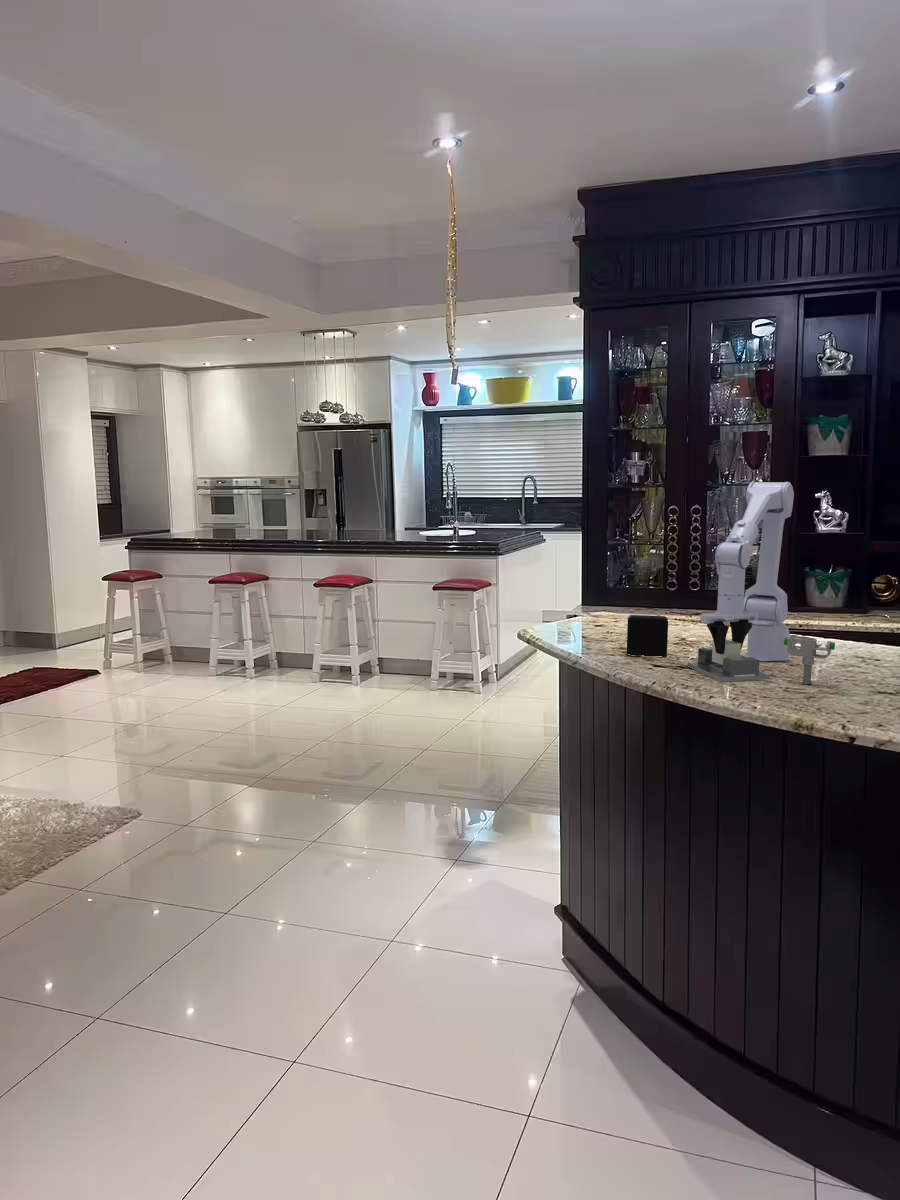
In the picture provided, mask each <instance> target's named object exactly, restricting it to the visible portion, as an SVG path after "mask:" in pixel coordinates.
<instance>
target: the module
mask: <svg viewBox="0 0 900 1200" xmlns="http://www.w3.org/2000/svg"><path fill="white" fill-rule="evenodd" d="M712 648H713V649H712V662H715V663H718V664H721V665H723V658H730V657H738V658H741V656H740V654H742V653H741V652H742V651H741V650H742V648H741V643H737V642H734V641H732V639H731V640H730V639H726V640H725V650H724V654H718V653H716V650H715V645H714V641H713V640H712Z"/></svg>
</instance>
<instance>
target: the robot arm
mask: <svg viewBox="0 0 900 1200" xmlns="http://www.w3.org/2000/svg"><path fill="white" fill-rule="evenodd" d="M746 488H747V489H746V491H745V492H746V493H745V498H746V503H747V507H746V509H745V512H744V514H743V517H742V519H739V520H737V521H735V523H734V525H733V527H732V528H731V531H730V533H729V535H728V536H727V537H726V540H725V541H723V542H722V543H719V544H718V545H717V547H716V550H715V555H714V559H715V564H716V574H717V575H718V586H717V609H716V611H715V612H711V613H702V614H700V624H704V625H706V626H707V629H708V631H709V632H710V635H711V638H712V642H713V641H714V645H715V650H716V653H718V654H724V650H725V640H727V634H728V631H729V629H730V631H731V641H734V642H737V643H741V649H742V647H743V646H744V643H745V640H746V637H747V646H746V649H747V650H746V653H740V657H752V658H755V659H758V660H760V662H778V661H779V662H781V661H782V662H783V661H791V658H789V655H790V654H789V653H788V651H787V649H788V646H787V645H784V638H788V637H791V636H790V635H791V634H790V630H789V628H788V626H787V625H786V624H785V623H784V622H785V621H786V619H787V617H788V612H789V611H788V608H789V607H788V594H787V592H785V591H784V589H783V588H781V587H780V586H778V579H779V578H778V577H779V567H780V562H781V561H780V560H781V550H782V544H783V543H782V541H783V531H784V525H785V520H786V519H788V518H790V517H791V516H792V512H793V507H794V499H795V492H794V487H793V485H792V484H791V482H790V481H784V482H782V481H780V482H777V481H776V482H774V481H773V482H772V481H771V482H769V481H767V482H763V481H761V482H760V481H759V482H756V481H751V482H750V483H749V484H748V486H747V487H746ZM761 521H762V527H761V528H762V530H761V539H760V549H759V555H758V556H759V557H758V566H757V575H756V583H755V584H754V585H752V586H751V587H749V588H748V589H746V590H745V583H746V582H745V581H746V569H747V567H748V566H749V564H750V562H751V557H752V556H751V555H752V552H753V548H752V547H753V545H754V543H755V541H756V539H757V537H758V535H759V527H758V526H759V523H761ZM761 596H763V597H761ZM764 596H765V597H764ZM725 623H729V625H726V624H725Z"/></svg>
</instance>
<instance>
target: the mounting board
mask: <svg viewBox="0 0 900 1200" xmlns="http://www.w3.org/2000/svg"><path fill="white" fill-rule="evenodd" d="M712 649H713V646H712V647H710V646H709V647H698V650H697V651H698V652H697V661H694V662H687V668H689V667H690V669H691V668H692V670H693V669H694V670H693V671H696V672H698V673H700V674H702V673H703V674H702V675H704V674H705V675H704V676H706V675H707V676H706V677H709V678H711V679H712V680H715V681H718V682H719V683H721V682H722V683H723V682H747V681H748V682H749V681H750V680H751V681H764V680H763V679H769V680H770V679H771V678H770V676H771V675H769V674H767V673H765V672H763V671H760V663H761V661H760V660H758V659H755V658H752V657H743V656H741V657H740V658H738V657H730V658H723V665H721V664H718V663H715V662H712Z"/></svg>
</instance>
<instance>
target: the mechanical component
mask: <svg viewBox="0 0 900 1200" xmlns="http://www.w3.org/2000/svg"><path fill="white" fill-rule="evenodd" d="M797 644H799V645H800V648H797V647H796V645H797ZM784 645H787V646H788V649H787V651H788V653H789V655H790V656H793V657H794V656H795V657H801V658H802V661H801V664H802V665H803V675H802V676H803V677H802V679H803V680H802V683H805V684H804V685H806V684H809V685H810V684H811V683H812V682H811V681H812V668H813V665H815V659H823V660H824V659H826V658H828V657H830V655H831V653H832V650H833V651H835V648H836V642H833V641H832V640H827V642H826V644H824V647H823V646H819V645H820V644H819V643H818V641H817V639H816V638H813V637H812V638H810V637H801V636H790V637H788V638H784ZM817 651H823V652H827V654H818V653H817Z"/></svg>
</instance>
